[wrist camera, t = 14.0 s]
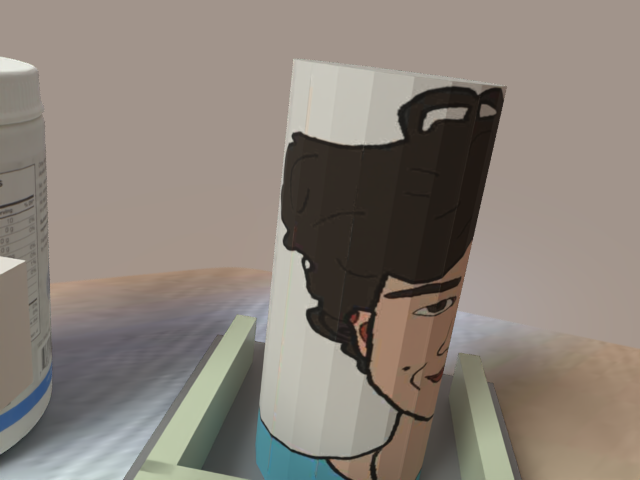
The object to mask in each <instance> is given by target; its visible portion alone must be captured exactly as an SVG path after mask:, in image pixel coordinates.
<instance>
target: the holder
mask: <svg viewBox="0 0 640 480" xmlns="http://www.w3.org/2000/svg"><path fill="white" fill-rule="evenodd" d="M256 320H257V318H254V317H249V316H243V315H237V316H236V317H235V319H234V320H233V322H232V324H231V325H230V327H229V328H228V330H227V332H226V333H225V335H224V336H223V335H217V336H216V338H215V339H214V341H213V343H212V344H211V346H210V347H209V349H208V350H207V352H206V353H205V355H204V356H203V358H202V359H201V361H200V362H199V364H198V365H197V367H196V369H195V370H194V372H193V373H192V375H191V376H190V378H189V379H188V381H187V382H186V384H185V385H184V387H183V388H182V390H181V391H180V393H179V395H178V396H177V398H176V399H175V401H174V402H173V404H172V405H171V407H170V408H169V410H168V411H167V413H166V414H165V416H164V417H163V419H162V421H161V422H160V424H159V425H158V427H157V428H156V430H155V431H154V433H153V434H152V436H151V437H150V439H149V440H148V442H147V443H146V445H145V447H144V448H143V450H142V451H141V453H140V454H139V456H138V457H137V459H136V460H135V462H134V463H133V465H132V466H131V468H130V470H129V471H128V473H127V474H126V476H125V477H124V479H123V480H265V479H264V477H263V475H262V473H261V471H260V469H259V467H258V466H257V464H256V448H255V443H256V432H257V422H258V412H259V402H260V392H261V382H262V372H263V362H264V352H265V343H262V342H257V341H255V331H256ZM419 480H522V479H521V475H520V472H519V469H518V465H517V462H516V459H515V455H514V452H513V449H512V445H511V442H510V438H509V435H508V432H507V428H506V425H505V422H504V418H503V415H502V412H501V408H500V405H499V401H498V398H497V395H496V391H495V388H494V385H493V383H490V382H487V380H486V377H485V373H484V369H483V366H482V362H481V359H480V356H476V355H470V354H464V353H459V354H458V358H457V363H456V367H455V371H454V376H450V375H445V374H443V375H442V380H441V384H440V388H439V393H438V397H437V402H436V406H435V411H434V415H433V420H432V424H431V429H430V433H429V438H428V442H427V447H426V451H425V456H424V460H423V465H422V469H421V473H420V478H419Z"/></svg>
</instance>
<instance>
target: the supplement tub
mask: <svg viewBox="0 0 640 480" xmlns="http://www.w3.org/2000/svg"><path fill="white" fill-rule="evenodd" d="M43 112H44V105H43V104H42V102H41V99H40V87H39V74H38V70H37V68H36V67H34V66H33V65H31V64H28V63H25V62H21V61H18V60H14V59H9V58H4V57H0V256H1V257H7V258H13V259H19V260H25V261H26V268H27V284H28V301H29V317H30V334H31V351H32V367H33V383H32V384H30V385H29V386H28V387H27V388H26V389H25V390H24V391H23V392H21V393H20V394H19V395H18V396H17V397H16V398H15V399H13V400H12V401H11V402H10V403H9V404H8V405H7V406H5V407H4V408H3V409H2V410H1V411H0V454H2V453H3V452H5V451H6V450H8V449H9V448H11V447H12V446H13V445H15V444H16V443H17V442H18V441H19V440H21V439H22V438H23V437H24V436H25V435H26V434H27V433H28V432H29V431H30V430H31V429H32V428H33V427H34V426H35V425H36V423H37V422H38V421H39V419H40V418H41V416H42V415H43V413H44V412H45V410H46V408H47V406H48V404H49V400H50V397H51V392H52V343H51V308H50V278H49V249H48V248H49V245H48V211H47V210H48V209H47V176H46V147H45V121H44V118H43V116H42V113H43Z"/></svg>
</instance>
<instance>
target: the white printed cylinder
mask: <svg viewBox="0 0 640 480" xmlns="http://www.w3.org/2000/svg"><path fill="white" fill-rule="evenodd" d="M506 89H507V86H504V85H498V84H492V83H486V82H479V81H472V80H465V79H458V78H451V77H444V76H436V75H429V74H421V73H414V72H406V71H399V70H391V69H383V68H375V67H367V66H359V65H351V64H341V63H334V62H324V61H316V60H305V59H294V60H293V71H292V80H291V91H290V100H289V110H288V120H287V121H288V122H287V131H286V141H285V151H284V161H283V171H282V181H281V191H280V202H279V211H278V221H277V231H276V242H275V251H274V252H275V253H274V261H273V271H272V281H271V292H270V302H269V312H268V322H267V332H266V342H265V352H264V362H263V372H262V382H261V392H260V402H259V412H258V422H257V432H256V443H255V448H256V464H257V466H258V467H259V469H260V471H261V473H262V475H263V477H264V479H265V480H419V478H420V473H421V469H422V465H423V460H424V456H425V451H426V447H427V442H428V438H429V433H430V429H431V424H432V420H433V415H434V411H435V406H436V402H437V397H438V393H439V388H440V384H441V380H442V375H443V371H444V366H445V362H446V357H447V353H448V348H449V344H450V339H451V335H452V330H453V326H454V321H455V317H456V312H457V308H458V303H459V299H460V295H461V290H462V285H463V281H464V277H465V272H466V268H467V263H468V259H469V254H470V250H471V245H472V241H473V236H474V232H475V227H476V223H477V218H478V214H479V209H480V205H481V200H482V196H483V192H484V187H485V183H486V178H487V174H488V169H489V165H490V160H491V156H492V151H493V147H494V142H495V138H496V133H497V129H498V125H499V119H500V116H501V111H502V107H503V102H504V98H505V93H506Z"/></svg>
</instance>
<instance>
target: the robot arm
mask: <svg viewBox="0 0 640 480" xmlns="http://www.w3.org/2000/svg"><path fill="white" fill-rule="evenodd" d="M32 383H33V367H32V351H31V334H30V317H29V301H28V284H27V268H26V261H25V260H19V259H13V258H7V257H1V256H0V411H1V410H2V409H3V408H4V407H5V406H7V405H8V404H9V403H10V402H11V401H12V400H13V399H15V398H16V397H17V396H18V395H19V394H20V393H21V392H23V391H24V390H25V389H26V388H27V387H28V386H29V385H30V384H32Z"/></svg>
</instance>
